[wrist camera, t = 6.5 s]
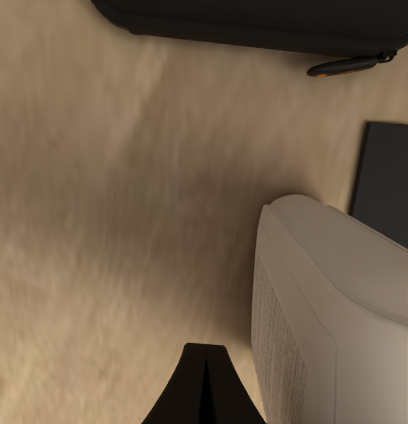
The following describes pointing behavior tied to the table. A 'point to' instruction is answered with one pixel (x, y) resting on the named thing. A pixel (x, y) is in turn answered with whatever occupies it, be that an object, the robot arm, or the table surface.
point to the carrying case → (276, 26)
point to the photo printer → (328, 317)
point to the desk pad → (383, 181)
